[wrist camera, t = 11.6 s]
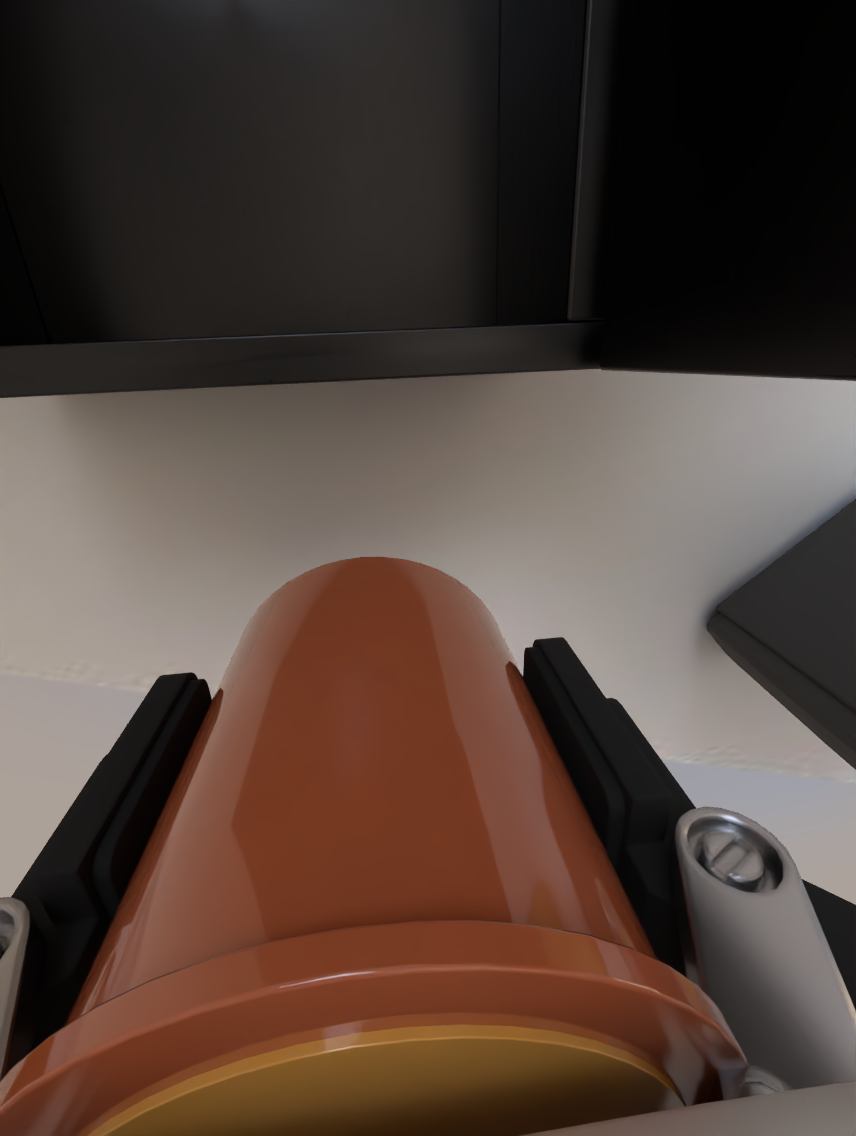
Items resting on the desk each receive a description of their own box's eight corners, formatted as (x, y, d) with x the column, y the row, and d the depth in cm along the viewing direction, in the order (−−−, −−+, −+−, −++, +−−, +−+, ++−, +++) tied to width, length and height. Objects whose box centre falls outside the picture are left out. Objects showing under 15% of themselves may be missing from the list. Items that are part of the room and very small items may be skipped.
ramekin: (187, 554, 10) (-299, 1088, 3) (524, 528, 10) (869, 912, 3) (250, 806, 12) (93, 1404, 5) (515, 774, 13) (691, 1278, 6)
